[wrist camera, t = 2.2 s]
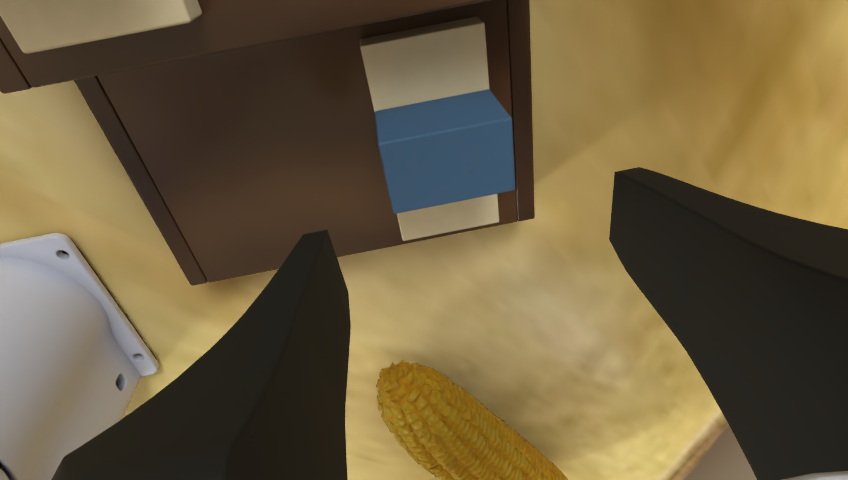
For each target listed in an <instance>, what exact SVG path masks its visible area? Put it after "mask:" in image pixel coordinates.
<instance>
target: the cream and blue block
mask: <svg viewBox="0 0 848 480" xmlns="http://www.w3.org/2000/svg"><path fill="white" fill-rule="evenodd" d="M201 14H202V11H201V8H200V5H199V3H198V0H0V16H1V17H2V19H3V21H4V22H5V24H6V26H7V27H8V29H9V31H10V32H11V34H12V35H13V37H14V39H15V40H16V42H17V44H18V45H19V47H20V49H21V50H22V52H23V53H27V54H29V53H34V52H39V51H44V50H50V49H55V48H60V47H65V46H71V45H76V44H81V43H86V42H92V41H97V40H102V39H107V38H113V37H118V36H123V35H128V34H133V33H139V32H144V31H149V30H154V29H160V28H165V27H170V26H175V25H181V24H186V23H190V22H191V21H193V20H194V19H196V18H197V17H199V16H200V15H201Z"/></svg>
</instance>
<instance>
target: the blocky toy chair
mask: <svg viewBox="0 0 848 480" xmlns="http://www.w3.org/2000/svg"><path fill="white" fill-rule="evenodd" d="M360 49H361V53H362V58H363V62H364V67H365V72H366V76H367V81H368V85H369V90H370V94H371V99H372V103H373V108H374V112H375V122H376V131H377V141H378V148H379V152H380V156H381V161H382V165H383V170H384V174H385V179H386V183H387V188H388V192H389V196H390V201H391V205H392V210H393V212H394V214H397V217H398V221H399V226H400V231H401V235H402V240H403V241H406V240H411V239H416V238H421V237H427V236H432V235H437V234H442V233H447V232H452V231H457V230H462V229H467V228H472V227H477V226H482V225H487V224H492V223H497V222H499V210H498V197H497V194H499V193H504V192H509V191H514V190H515V172H514V151H513V131H512V118H511V117H510V116H509V114H508V113H507V112H506V110H505V109H504V108H503V106H502V105H501V104H500V103H499V101H498V100H497V99H496V97H495V96H494V95H493V94H492V92H491V91H490V90H489V77H488V64H487V50H486V37H485V24H484V22H482V21H481V20H480V19H479V18H478V17H471V18H466V19H461V20H456V21H450V22H445V23H440V24H435V25H430V26H424V27H419V28H414V29H409V30H404V31H398V32H393V33H388V34H383V35H377V36H372V37H367V38H362V39H360Z"/></svg>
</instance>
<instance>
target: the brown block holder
mask: <svg viewBox="0 0 848 480" xmlns="http://www.w3.org/2000/svg"><path fill="white" fill-rule="evenodd" d="M198 3H199V5H200V8H201V11H202V14H201V15H200V16H199V17H197V18H196V19H194V20H193V21H191V22H190V23H186V24H181V25H175V26H170V27H165V28H160V29H154V30H149V31H144V32H139V33H133V34H128V35H123V36H118V37H113V38H107V39H102V40H97V41H92V42H86V43H81V44H76V45H71V46H65V47H60V48H55V49H50V50H44V51H39V52H34V53H29V54H27V53H23V52H22V50H21V49H20V47H19V45H18V44H17V42H16V40H15V39H14V37H13V35H12V34H11V32H10V31H9V29H8V27H7V26H6V24H5V22H4V21H3V19H2V17H1V16H0V91H1V92H2V93H10V92H16V91H21V90H26V89H30V88H32V87H40V86H46V85H51V84H56V83H61V82H66V81H72V80H74V81H75V83H76V85H77V86H78V88H79V90H80V92H81V93H82V95H83V97H84V99H85V100H86V102H87V104H88V106H89V107H90V109H91V111H92V113H93V114H94V116H95V118H96V120H97V121H98V123H99V125H100V127H101V128H102V130H103V132H104V134H105V135H106V137H107V139H108V141H109V142H110V144H111V146H112V148H113V149H114V151H115V153H116V155H117V156H118V158H119V160H120V162H121V163H122V165H123V167H124V169H125V170H126V172H127V174H128V176H129V177H130V179H131V181H132V183H133V184H134V186H135V188H136V190H137V191H138V193H139V195H140V197H141V198H142V200H143V202H144V204H145V205H146V207H147V209H148V211H149V212H150V214H151V216H152V218H153V219H154V221H155V223H156V225H157V226H158V228H159V230H160V232H161V233H162V235H163V237H164V239H165V240H166V242H167V244H168V246H169V248H170V249H171V251H172V253H173V255H174V256H175V258H176V260H177V262H178V263H179V265H180V267H181V269H182V270H183V272H184V274H185V276H186V277H187V279H188V281H189V283H190V284H191V285H198V284H203V283H207V282H214V281H219V280H224V279H229V278H234V277H239V276H244V275H249V274H254V273H259V272H264V271H270V270H275V269H279V268H280V267H281V265H282V264H283V262H284V261H285V260H286V258H287V257H288V255H289V254H290V252H291V251H292V249H293V248H294V247H295V245H296V244H297V242H298V241H299V239H300V238H301V237H302V235H303V234H308V233H313V232H318V231H323V230H328V233H329V236H330V239H331V242H332V245H333V248H334V251H335V254H336V257H340V256H345V255H350V254H356V253H361V252H366V251H371V250H376V249H381V248H386V247H391V246H396V245H401V244H406V243H411V242H416V241H421V240H426V239H431V238H437V237H442V236H447V235H452V234H457V233H462V232H467V231H472V230H477V229H482V228H487V227H492V226H497V225H502V224H507V223H512V222H517V220H518V221H523V220H528V219H533V218H534V217H535V215H534V174H533V133H532V92H531V51H530V10H529V0H198ZM471 17H478V18H479V19H480V20H481V21H482V22H484V24H485V37H486V50H487V64H488V77H489V90H490V91H491V92H492V94H493V95H494V96H495V97H496V99H497V100H498V101H499V103H500V104H501V105H502V106H503V108H504V109H505V110H506V112H507V113H508V114H509V116H510V117H511V118H512V131H513V151H514V172H515V190H514V191H509V192H504V193H499V194H497V197H498V210H499V222H497V223H492V224H487V225H482V226H477V227H472V228H467V229H462V230H457V231H452V232H447V233H442V234H437V235H432V236H427V237H421V238H416V239H411V240H406V241H403V240H402V235H401V231H400V226H399V221H398V217H397V214H394V212H393V210H392V205H391V201H390V196H389V192H388V188H387V183H386V179H385V174H384V170H383V165H382V161H381V156H380V152H379V148H378V141H377V131H376V122H375V112H374V108H373V103H372V99H371V94H370V90H369V85H368V81H367V76H366V72H365V67H364V62H363V58H362V53H361V49H360V39H362V38H367V37H372V36H377V35H383V34H388V33H393V32H398V31H404V30H409V29H414V28H419V27H424V26H430V25H435V24H440V23H445V22H450V21H456V20H461V19H466V18H471Z"/></svg>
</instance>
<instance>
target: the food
mask: <svg viewBox="0 0 848 480" xmlns="http://www.w3.org/2000/svg"><path fill="white" fill-rule="evenodd" d="M379 376H380V377H381V378H380V379H379V380H378V384H377V385H376V386H377V387H378V388H379V390H378V394H379V395H378V396H377V398H378V408H379V410H383V412H382V415H381V416H382V418H383V420H384V421H385V423H386V424H387V426H388V427H389V429H390V432H391V433H393V434H394V436H395V438H396V439H397V441H398V442H399V443H400V444H401V446H402V447H403V448H404V449H405V450H406V451H407V452H408V454H409V455H410V456H411V457H412V458H413V459H414V460H415V461H416V462H417V463H418V464H421V465H422V466H423V467H424V468H425V469H426V470H428V471H429V472H430V473H432V474H435V477H438V478H440V479H441V480H568V479H567V477H566V476H565V475H564V474H563V473H562V472H561V471H560V470H559V469H558V468H557V467H556V466H555V465H554V464H553V463H551V462H550V461H549V460H548V459H547V458H546V457H544V456H543V455H542V454H541V453H540V452H539V451H538V450H536V449H535V448H534V447H533V446H531V445H530V444H528V442H527V441H526V440H524V439H523V438H522V437H521V436H520V435H519V434H518V433H517V432H515V431H514V430H513V429H512V428H511V427H509V426H508V425H506V424H504V421H503V420H500V419H499V418H498V417H496V416H495V415H493V414H491V412H489V411H488V409H487V408H485V407H483V404H481V403H480V402H478V401H477V400H476V399H475V398H474V397H473V396H471V395H470V394H469V393H468V392H467V391H465V390H464V389H463V388H461V387H459V386H458V385H456V384H455V383H453V382H452V381H450V380H449V379H448V378H447V377H445V376H444V375H443V374H441V373H439V372H437V371H436V370H434V369H431V368H428V367H425V366H422V365H419V364H418V363H413V364H410V363H408V362H406V361H403V360H402V361H401V362H400V363H399V364H398V365H396V366H395V365H394V364H393V363H392V364H391V366H390V367H389V368H386V369H382V370H381V372H380V374H379Z"/></svg>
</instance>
